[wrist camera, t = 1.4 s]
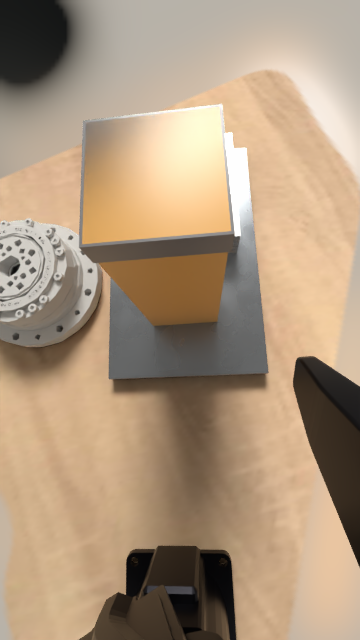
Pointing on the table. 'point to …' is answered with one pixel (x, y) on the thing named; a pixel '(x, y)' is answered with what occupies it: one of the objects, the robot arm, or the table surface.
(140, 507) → the table surface
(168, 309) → the capped orange pillar
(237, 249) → the grey socket base plate
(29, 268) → the mechanical component
